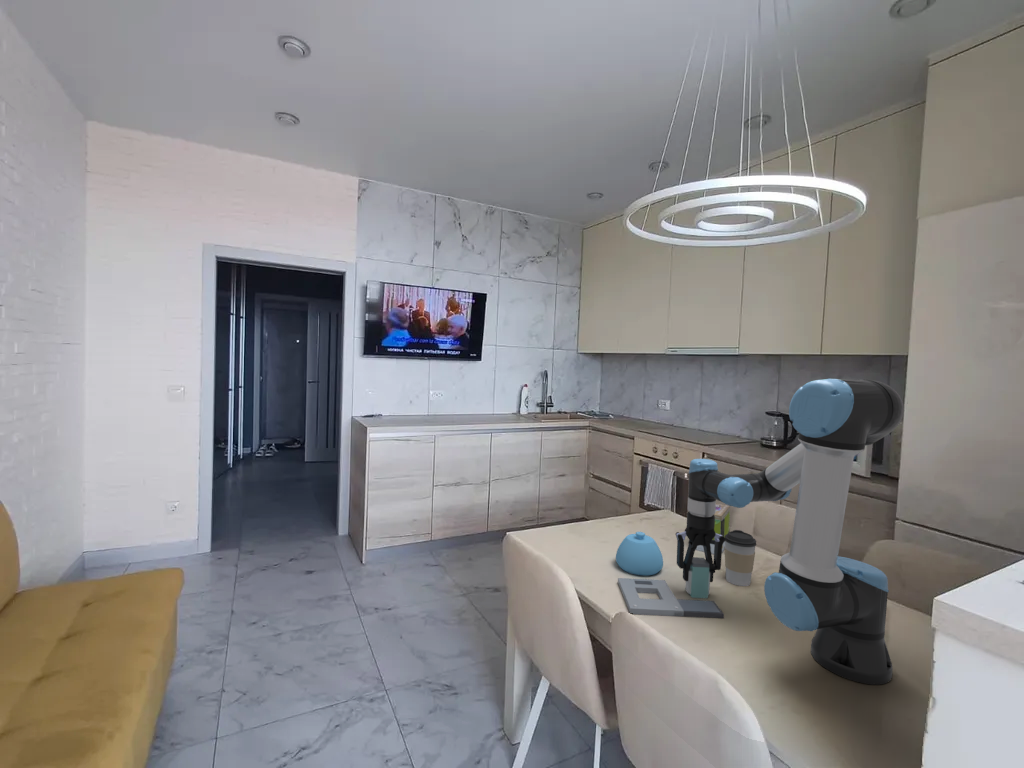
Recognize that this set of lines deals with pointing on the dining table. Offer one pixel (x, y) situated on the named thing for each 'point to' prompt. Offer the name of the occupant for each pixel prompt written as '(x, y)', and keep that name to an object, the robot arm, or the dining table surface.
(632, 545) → the sugar bowl
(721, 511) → the tea box
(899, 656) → the dining table surface
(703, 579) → the charger block
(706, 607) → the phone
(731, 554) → the coffee cup
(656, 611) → the outlet plate
